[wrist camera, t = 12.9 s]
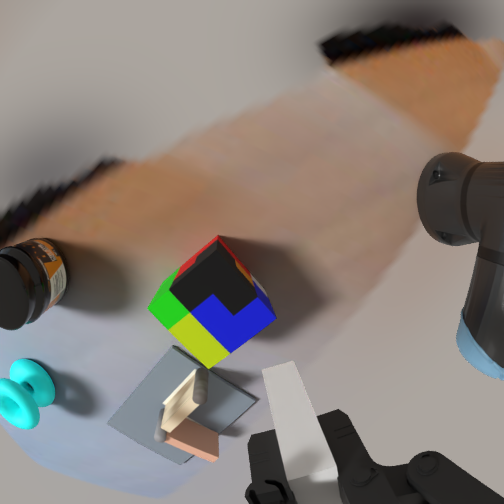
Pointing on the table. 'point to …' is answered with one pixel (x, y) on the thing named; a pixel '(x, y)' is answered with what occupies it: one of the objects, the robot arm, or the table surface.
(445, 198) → the robot arm
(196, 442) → the salmon gate panel
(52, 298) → the supplement container
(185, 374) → the card
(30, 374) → the donuts
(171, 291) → the puzzle toy
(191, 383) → the rail
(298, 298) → the table surface
